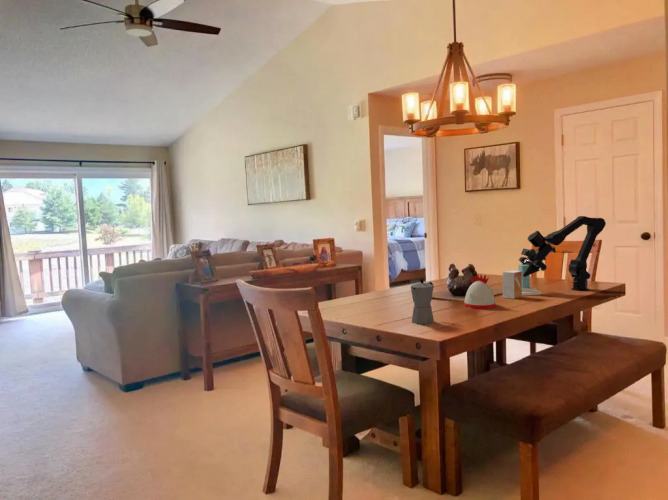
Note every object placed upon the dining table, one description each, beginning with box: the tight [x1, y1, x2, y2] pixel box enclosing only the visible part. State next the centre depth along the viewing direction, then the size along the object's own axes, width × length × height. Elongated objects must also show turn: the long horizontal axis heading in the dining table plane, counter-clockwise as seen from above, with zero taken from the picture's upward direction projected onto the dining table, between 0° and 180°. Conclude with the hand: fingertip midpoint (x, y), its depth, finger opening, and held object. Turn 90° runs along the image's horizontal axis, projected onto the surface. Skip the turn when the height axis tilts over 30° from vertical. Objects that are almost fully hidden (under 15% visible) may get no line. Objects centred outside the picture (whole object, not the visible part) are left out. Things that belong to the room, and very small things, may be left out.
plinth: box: [522, 286, 542, 297], centre depth 269 cm, size 12×12×3 cm
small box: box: [502, 269, 523, 300], centre depth 259 cm, size 8×6×13 cm
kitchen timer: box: [463, 273, 496, 310], centre depth 241 cm, size 14×14×15 cm
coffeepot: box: [410, 277, 435, 325], centre depth 214 cm, size 15×9×18 cm, turn 141°
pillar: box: [517, 264, 531, 289], centre depth 268 cm, size 4×4×12 cm
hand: (521, 275), depth 268 cm, fingers closed on pillar, 4 cm apart
